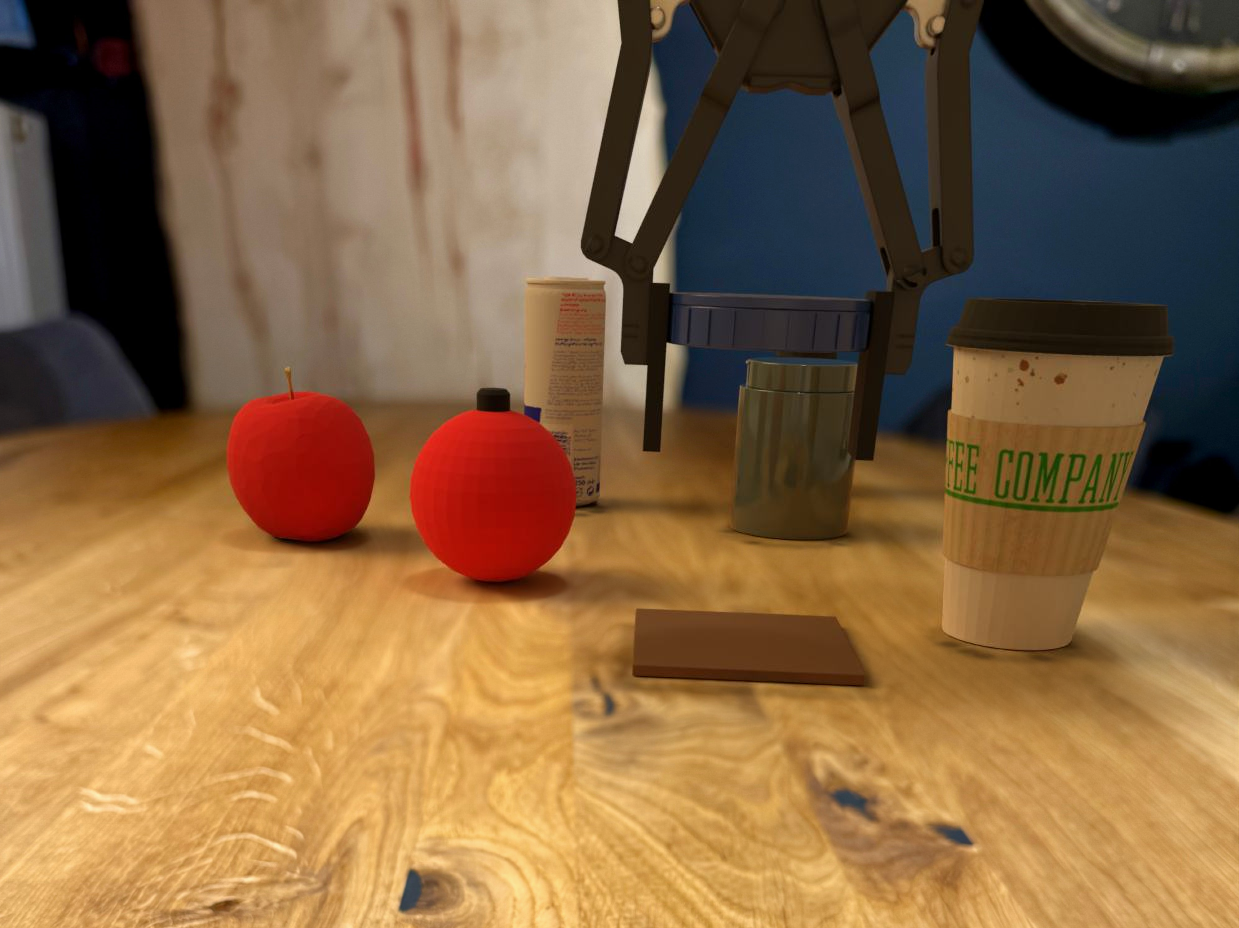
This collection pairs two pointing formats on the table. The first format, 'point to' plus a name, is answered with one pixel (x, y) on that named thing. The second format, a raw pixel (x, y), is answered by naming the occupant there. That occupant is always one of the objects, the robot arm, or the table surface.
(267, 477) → the fruit
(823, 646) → the coaster
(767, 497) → the jar
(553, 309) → the beverage can
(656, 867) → the table surface
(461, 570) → the ornament
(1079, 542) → the coffee cup
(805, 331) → the lid
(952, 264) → the robot arm
